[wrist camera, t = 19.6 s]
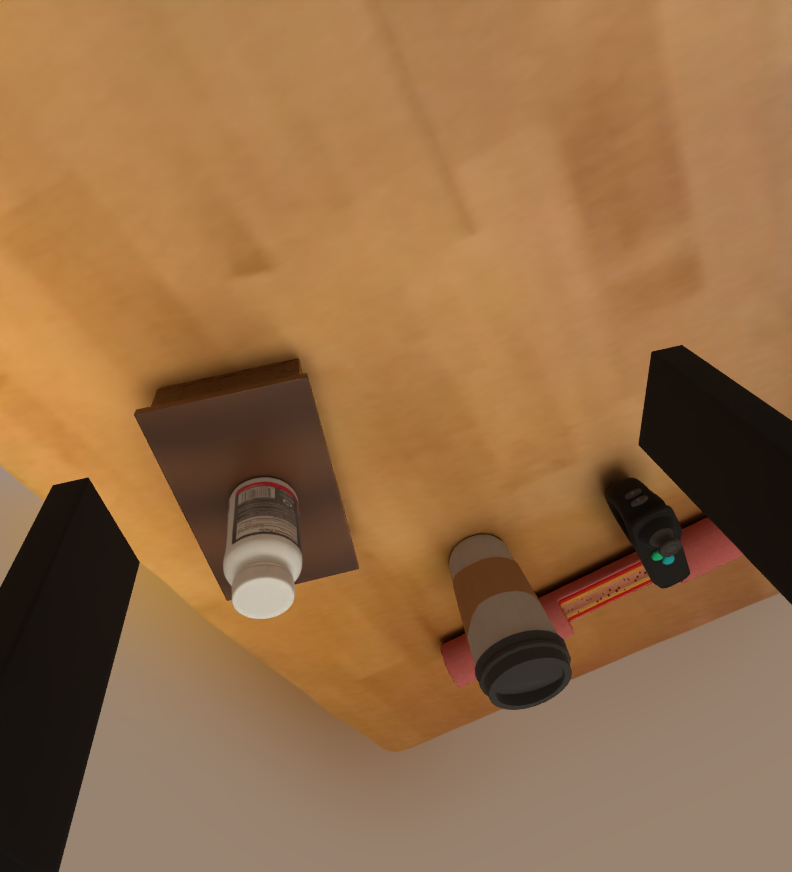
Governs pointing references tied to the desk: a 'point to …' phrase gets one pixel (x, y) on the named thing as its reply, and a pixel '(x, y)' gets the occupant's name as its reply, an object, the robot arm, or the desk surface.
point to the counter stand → (249, 459)
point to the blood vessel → (605, 590)
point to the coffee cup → (506, 626)
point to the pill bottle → (262, 547)
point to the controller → (650, 530)
